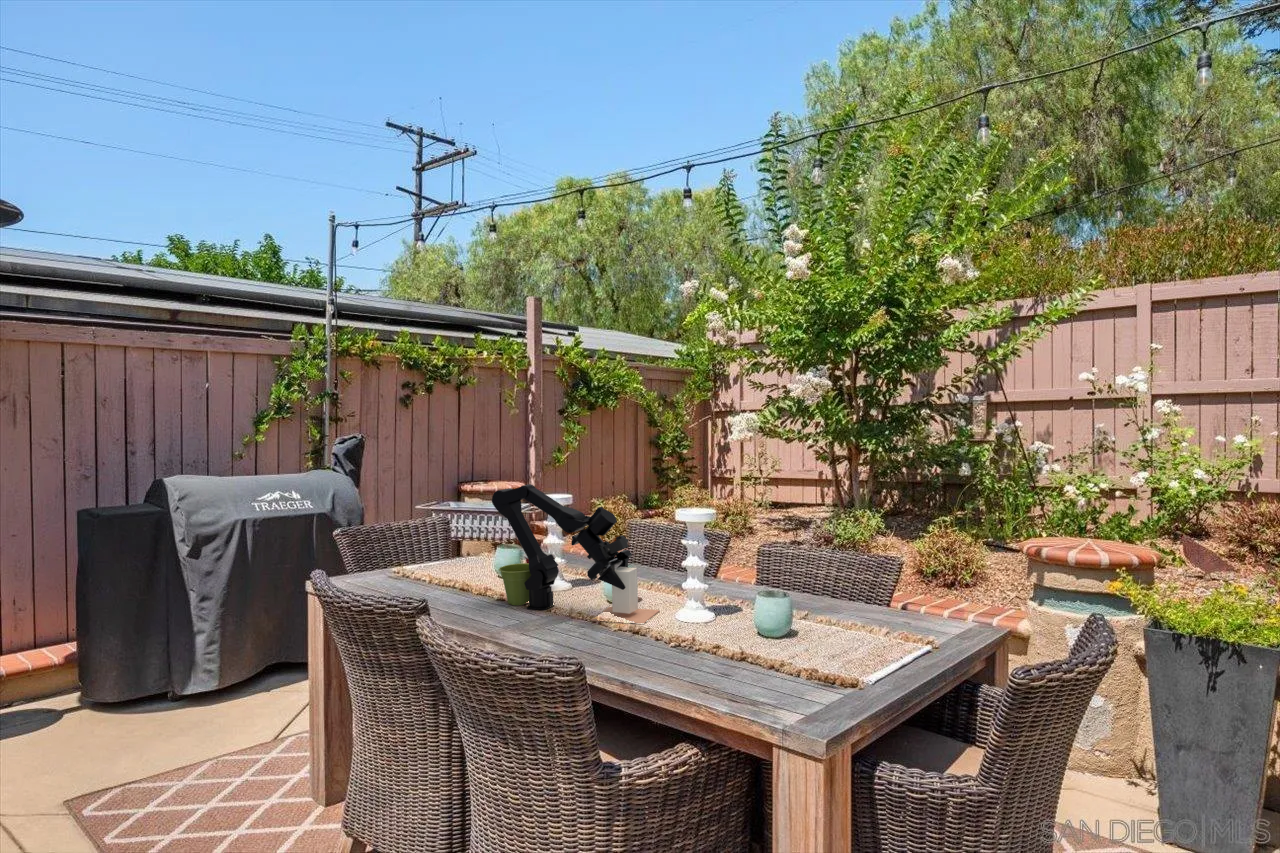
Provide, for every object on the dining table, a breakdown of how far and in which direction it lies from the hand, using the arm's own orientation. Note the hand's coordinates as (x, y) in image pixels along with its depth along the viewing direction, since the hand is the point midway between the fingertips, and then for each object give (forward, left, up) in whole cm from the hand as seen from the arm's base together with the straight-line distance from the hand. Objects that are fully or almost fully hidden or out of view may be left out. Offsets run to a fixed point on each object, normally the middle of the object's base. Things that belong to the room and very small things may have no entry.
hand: (628, 586), depth 229 cm
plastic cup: (-40, +23, -9) cm, 47 cm away
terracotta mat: (-1, 0, -9) cm, 9 cm away
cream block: (-1, 0, -7) cm, 7 cm away
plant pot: (-39, +6, -9) cm, 41 cm away
